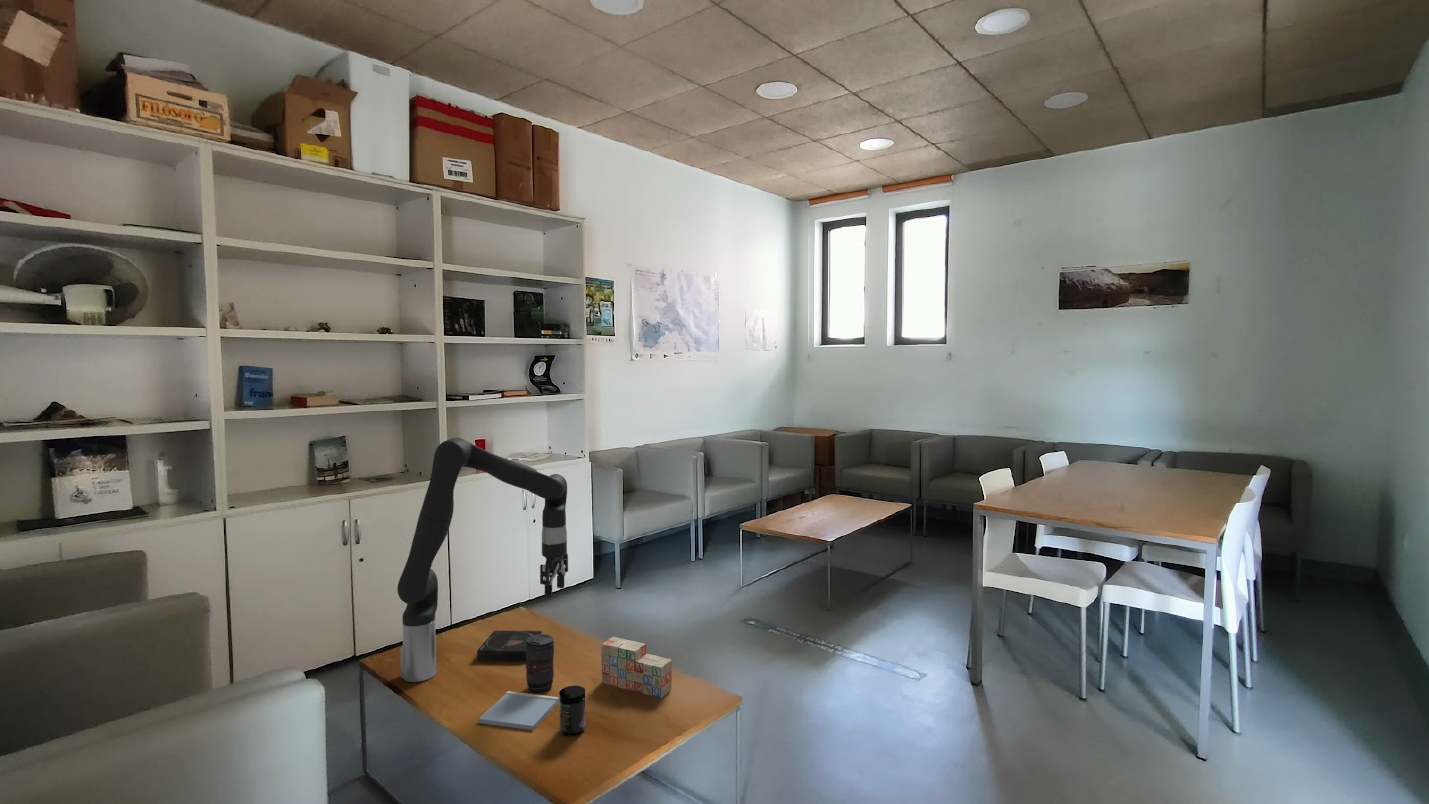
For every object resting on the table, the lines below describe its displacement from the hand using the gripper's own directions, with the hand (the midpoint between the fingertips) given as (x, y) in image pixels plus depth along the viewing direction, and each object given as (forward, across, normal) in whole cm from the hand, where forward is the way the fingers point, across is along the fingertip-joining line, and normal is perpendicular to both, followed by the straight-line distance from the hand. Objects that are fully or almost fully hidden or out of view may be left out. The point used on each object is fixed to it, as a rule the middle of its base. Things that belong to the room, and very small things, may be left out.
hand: (554, 592), depth 207 cm
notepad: (+26, +24, +1) cm, 35 cm away
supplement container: (+26, +28, +19) cm, 43 cm away
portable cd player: (+27, -12, -22) cm, 37 cm away
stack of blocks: (+26, +1, +27) cm, 38 cm away
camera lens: (+26, +10, 0) cm, 28 cm away
